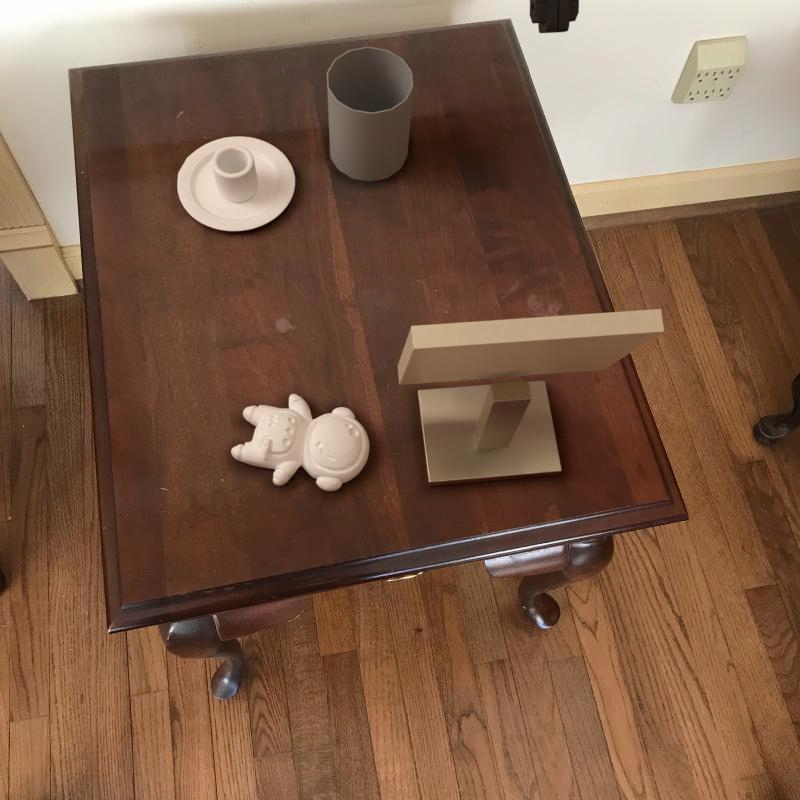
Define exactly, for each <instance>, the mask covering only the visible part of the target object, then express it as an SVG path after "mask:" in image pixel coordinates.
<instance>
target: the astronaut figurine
mask: <svg viewBox="0 0 800 800" xmlns="http://www.w3.org/2000/svg"><path fill="white" fill-rule="evenodd" d="M242 416H243V418H244V419H245V421H247V422H248V423H250V424H251V425H253V426H254V427H255V429H254V431H253V434H252V439H251V441H246V442H244V444H243V443H240V444H239V443H238V444H237V445H235V446H233V447H232V448H231V450H230V454H231V456H232V457H233V458H234V459H235V460H236V461H238V462H240V463H241V462H242V463H244V464H247V465H250V466H254V467H258V468H264V469H270V470H271V469H272V470H274V472H273V474H272V477H273V478H272V483H273V484H274V485H275V486H284V485H286V484H287V483H288V482H289V480H291V478H292V477H293V476H294V475H295V474H296V472H297V471H298V469H299V468H300V467H301V468H303V469H304V471H305V472H306V473H307V474H308V475H309V476H310V477H312V478H313V479H315V480H316V481H315V484H316V485H317V486H318V488H320V490H323V491H326V492H335V491H338V490H339V489H340V488H341V487H342V486H343V484H345V483H347V482H350V481H351V480H352V479H354V478H356V477H357V476H358V475H359V474H360V473H361V471H362V470H363V469H364V467H365V466H366V464H367V462H368V459H369V454H370V440H369V437H368V433H367V431H366V429H365V427H364V426H363V425H362V424H361V423H360V422H359V421H358V419H356V416H355V414H354V412H353V411H352V410H351V409H350V408H348V407H343V406H340V407H336V408H334V409H333V410H332V411H331V413H330V412H328V413H324V414H322V415H319V416H318V417H316V418H314V419H313V416H312V411H311V409H310V407H309V405H308V402H307V401H306V400H304V398H303V397H302V396H300V395H298V394H297V393H291V394H290V395H289V397H288V408H283V407H276V406H272V405H265V404H259V405H258V406H257V405H250V406H246V407H244V409H243V411H242Z"/></svg>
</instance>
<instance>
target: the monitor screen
mask: <svg viewBox="0 0 800 800" xmlns="http://www.w3.org/2000/svg"><path fill="white" fill-rule="evenodd" d="M663 319H664V318H663V310H662V309H661V308H654V309H641V310H639V309H638V310H625V311H611V312H610V311H609V312H597V313H596V312H595V313H582V314H581V313H580V314H565V315H551V316H550V315H549V316H536V317H522V318H507V319H493V320H479V321H478V320H477V321H476V320H475V321H465V322H464V321H463V322H451V323H450V322H449V323H434V324H421V325H419V324H417V325H411V326H410V329H409V331H408V335H407V337H406V341H405V344H404V346H403V349H402V351H401V355H400V358H399V361H398V364H397V374H398V385H400V386H403V385H416V384H430V383H431V384H432V383H443V382H457V381H470V380H471V381H472V380H484V379H486V380H487V379H497V378H511V377H524V376H535V375H536V376H538V375H550V374H551V375H554V374H564V373H579V372H592V371H593V372H594V371H605V370H606V369H607V368H610V366H612V365H614V364H615V363H617V362H618V361H620V360H622V359H623V358H625V357H626V356H628V355H630V354H631V353H633V352H634V351H636V350H637V349H639V348H641V347H642V346H645V344H647V343H649V342H650V341H652V340H653V339H655V338H657V337H658V336H660V335H661V334H663V333H665V327H664V326H665V325H664V320H663Z"/></svg>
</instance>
